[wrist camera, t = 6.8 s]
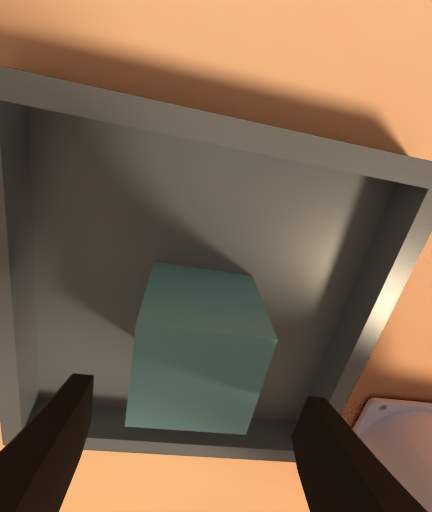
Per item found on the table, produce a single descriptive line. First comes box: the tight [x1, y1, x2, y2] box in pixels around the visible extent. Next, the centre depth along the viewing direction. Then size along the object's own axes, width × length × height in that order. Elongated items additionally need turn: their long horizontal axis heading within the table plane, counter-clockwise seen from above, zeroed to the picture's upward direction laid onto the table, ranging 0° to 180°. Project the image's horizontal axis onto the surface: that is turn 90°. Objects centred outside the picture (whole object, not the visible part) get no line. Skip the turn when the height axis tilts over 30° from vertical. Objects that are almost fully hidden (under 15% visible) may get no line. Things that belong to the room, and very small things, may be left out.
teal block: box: [125, 262, 278, 435], centre depth 14 cm, size 5×5×5 cm
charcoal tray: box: [0, 66, 432, 462], centre depth 15 cm, size 18×18×3 cm
